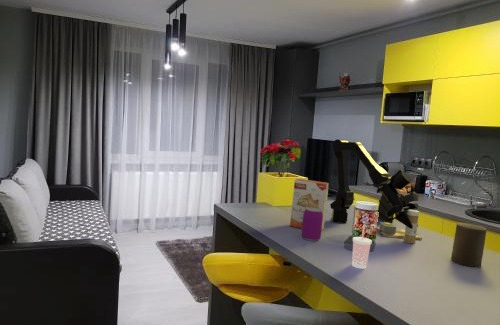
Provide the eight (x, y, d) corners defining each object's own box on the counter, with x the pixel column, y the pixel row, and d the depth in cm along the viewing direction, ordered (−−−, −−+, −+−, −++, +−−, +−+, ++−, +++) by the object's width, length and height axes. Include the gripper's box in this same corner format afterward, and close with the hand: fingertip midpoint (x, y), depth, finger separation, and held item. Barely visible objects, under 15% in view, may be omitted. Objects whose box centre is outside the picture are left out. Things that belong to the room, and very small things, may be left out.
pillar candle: (470, 268, 138) (476, 226, 136) (445, 259, 146) (451, 219, 145) (487, 266, 142) (493, 225, 141) (461, 257, 151) (467, 218, 149)
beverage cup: (365, 271, 127) (370, 228, 125) (347, 266, 130) (351, 224, 129) (371, 266, 132) (376, 224, 131) (352, 261, 135) (357, 221, 134)
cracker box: (289, 226, 174) (294, 179, 172) (293, 223, 180) (297, 178, 177) (321, 232, 169) (326, 183, 167) (324, 229, 174) (329, 182, 172)
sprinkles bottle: (409, 240, 169) (413, 209, 167) (417, 243, 165) (421, 211, 163) (401, 240, 167) (405, 209, 165) (409, 244, 163) (413, 211, 161)
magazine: (379, 213, 212) (389, 190, 205) (390, 229, 201) (400, 206, 193) (373, 212, 211) (382, 189, 204) (383, 229, 200) (393, 205, 193)
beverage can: (298, 238, 157) (301, 208, 155) (304, 234, 163) (307, 205, 162) (316, 242, 153) (320, 212, 152) (323, 238, 160) (326, 209, 159)
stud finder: (383, 232, 173) (384, 225, 173) (379, 228, 180) (380, 221, 180) (395, 233, 173) (396, 226, 173) (390, 229, 180) (391, 222, 180)
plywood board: (384, 236, 171) (384, 234, 171) (376, 229, 183) (376, 227, 183) (421, 240, 170) (422, 237, 170) (411, 232, 182) (411, 230, 182)
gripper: (396, 186, 160) (419, 219, 153) (417, 184, 173) (439, 214, 166) (376, 201, 166) (398, 234, 160) (398, 198, 179) (418, 228, 172)
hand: (414, 227), depth 164 cm, fingers closed on sprinkles bottle, 4 cm apart
